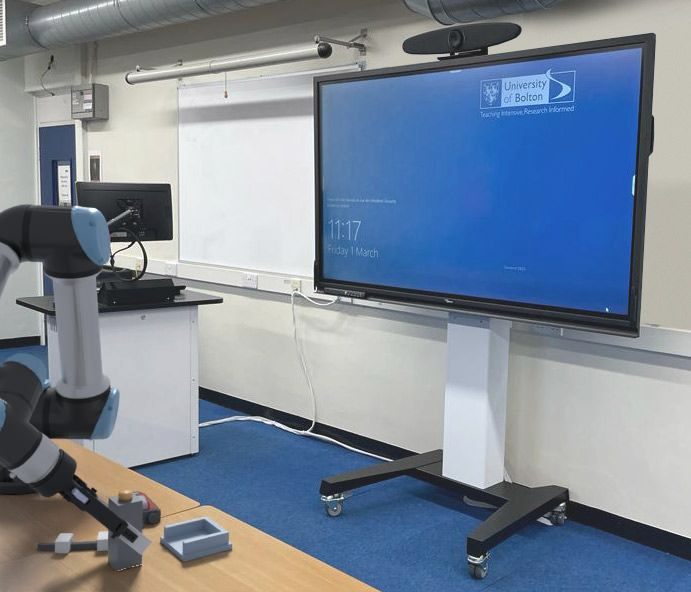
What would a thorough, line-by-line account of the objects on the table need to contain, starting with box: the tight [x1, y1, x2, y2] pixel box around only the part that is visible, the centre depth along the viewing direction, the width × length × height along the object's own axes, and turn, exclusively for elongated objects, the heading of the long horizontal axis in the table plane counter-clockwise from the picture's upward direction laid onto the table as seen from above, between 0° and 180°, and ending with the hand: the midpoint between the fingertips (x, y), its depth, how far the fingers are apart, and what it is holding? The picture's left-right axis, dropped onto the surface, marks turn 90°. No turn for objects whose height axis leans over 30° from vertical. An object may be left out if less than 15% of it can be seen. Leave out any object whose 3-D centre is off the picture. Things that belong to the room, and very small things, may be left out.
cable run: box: [36, 530, 108, 554], centre depth 142 cm, size 4×16×2 cm, turn 102°
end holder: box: [159, 515, 233, 563], centre depth 145 cm, size 10×10×3 cm
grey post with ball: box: [107, 489, 143, 572], centre depth 136 cm, size 4×4×13 cm
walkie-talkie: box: [132, 491, 162, 526], centre depth 156 cm, size 9×4×20 cm
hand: (130, 533), depth 137 cm, fingers open, 13 cm apart
